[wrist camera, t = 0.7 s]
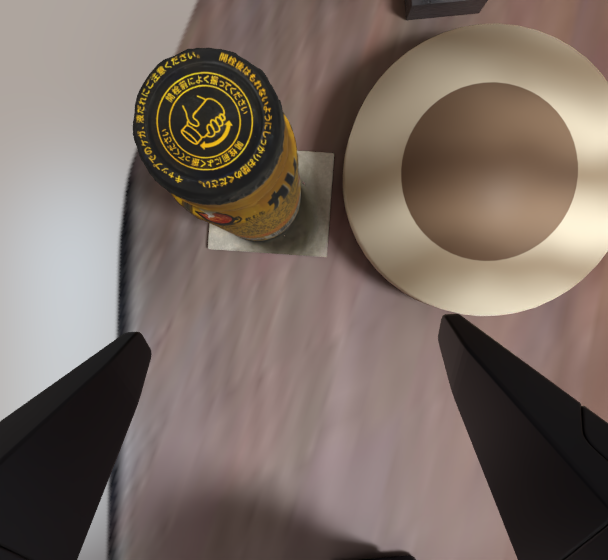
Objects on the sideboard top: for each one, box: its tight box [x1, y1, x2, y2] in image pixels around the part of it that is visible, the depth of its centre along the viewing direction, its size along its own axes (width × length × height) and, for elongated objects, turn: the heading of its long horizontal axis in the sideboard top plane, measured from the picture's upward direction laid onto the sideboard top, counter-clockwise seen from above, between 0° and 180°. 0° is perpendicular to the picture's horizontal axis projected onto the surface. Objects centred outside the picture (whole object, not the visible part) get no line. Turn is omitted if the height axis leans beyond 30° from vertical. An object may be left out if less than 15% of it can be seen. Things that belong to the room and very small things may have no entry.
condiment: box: [133, 48, 334, 257], centre depth 16 cm, size 7×8×12 cm
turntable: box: [342, 24, 608, 316], centre depth 20 cm, size 18×18×2 cm
